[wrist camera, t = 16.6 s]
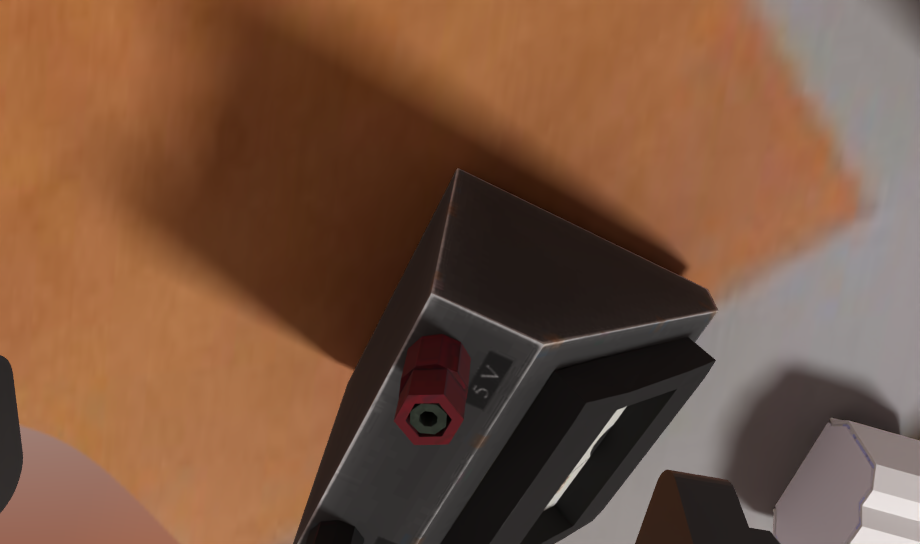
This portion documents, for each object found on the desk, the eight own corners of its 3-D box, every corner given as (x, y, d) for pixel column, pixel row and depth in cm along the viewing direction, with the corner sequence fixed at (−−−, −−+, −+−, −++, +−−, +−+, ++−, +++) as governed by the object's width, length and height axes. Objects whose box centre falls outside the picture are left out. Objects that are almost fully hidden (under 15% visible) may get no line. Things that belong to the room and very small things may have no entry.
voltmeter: (572, 467, 52) (602, 764, 34) (351, 371, 50) (261, 636, 32) (706, 280, 46) (832, 528, 28) (459, 159, 43) (420, 345, 25)
